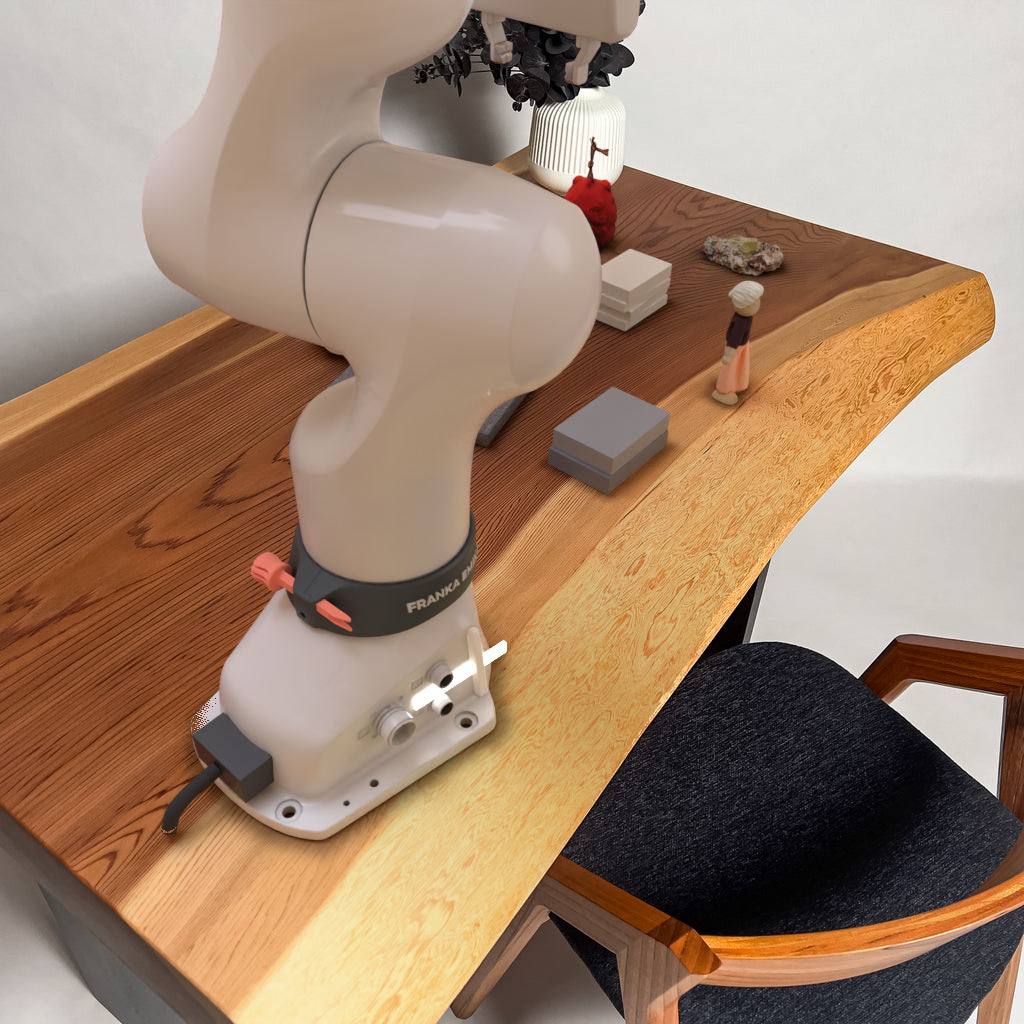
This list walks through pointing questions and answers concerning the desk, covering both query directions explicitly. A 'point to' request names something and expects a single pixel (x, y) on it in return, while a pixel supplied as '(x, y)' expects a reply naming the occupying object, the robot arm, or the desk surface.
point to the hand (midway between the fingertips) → (537, 71)
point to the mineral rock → (743, 254)
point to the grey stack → (609, 439)
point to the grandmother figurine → (738, 342)
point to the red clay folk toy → (595, 201)
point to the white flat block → (632, 275)
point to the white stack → (632, 307)
